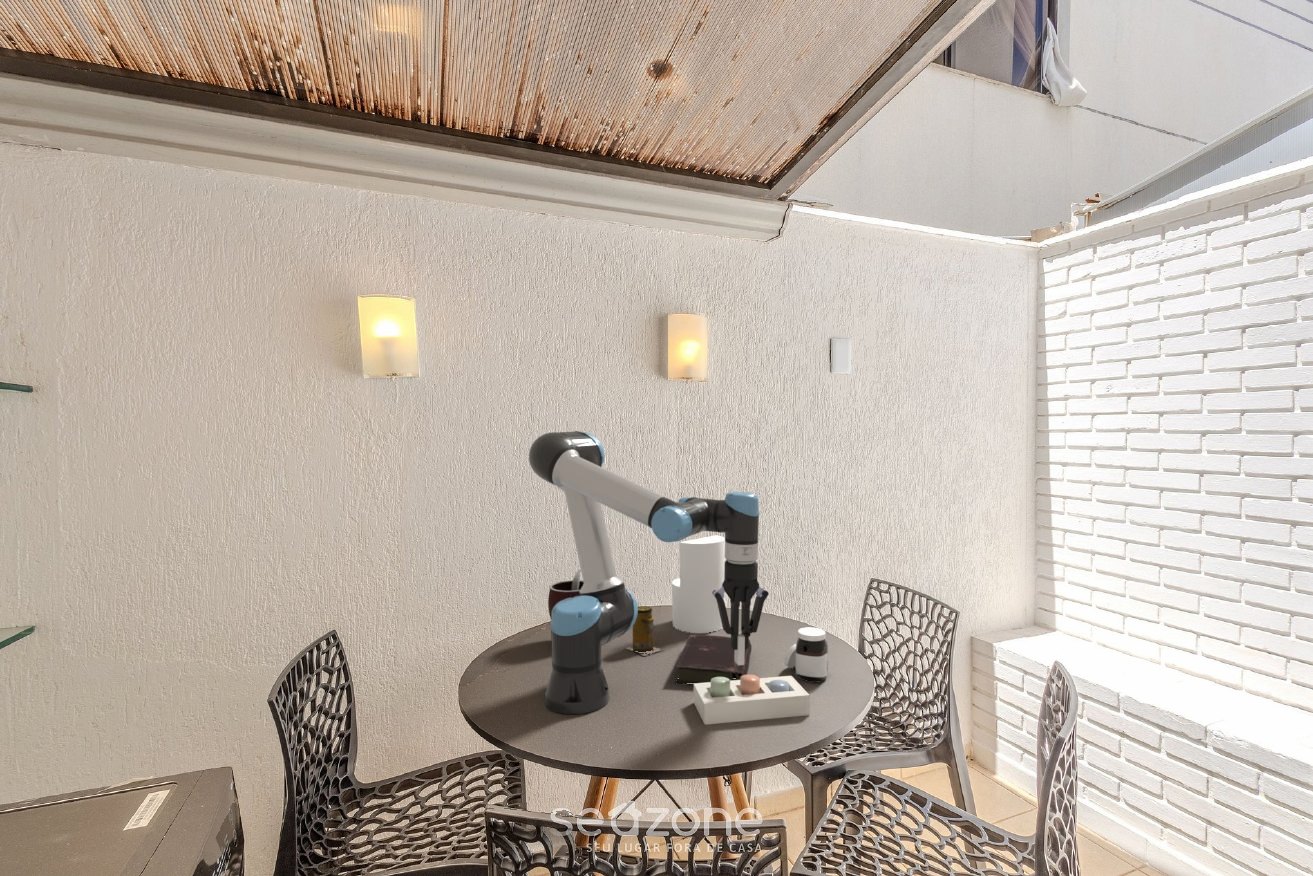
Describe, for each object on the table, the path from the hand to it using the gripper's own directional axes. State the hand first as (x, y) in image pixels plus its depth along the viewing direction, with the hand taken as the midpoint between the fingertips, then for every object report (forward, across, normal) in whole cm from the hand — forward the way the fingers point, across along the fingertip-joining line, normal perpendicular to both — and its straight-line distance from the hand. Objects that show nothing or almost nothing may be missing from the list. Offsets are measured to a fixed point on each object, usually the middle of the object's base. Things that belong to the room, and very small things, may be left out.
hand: (739, 662), depth 144 cm
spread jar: (+11, +23, +15) cm, 30 cm away
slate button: (+8, +9, -1) cm, 13 cm away
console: (+10, +2, -1) cm, 11 cm away
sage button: (+7, -4, -1) cm, 8 cm away
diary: (+12, +1, +25) cm, 27 cm away
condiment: (+12, -15, +42) cm, 46 cm away
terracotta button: (+7, +2, -1) cm, 7 cm away
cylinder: (+12, +6, +60) cm, 62 cm away
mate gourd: (+13, -35, +54) cm, 65 cm away
